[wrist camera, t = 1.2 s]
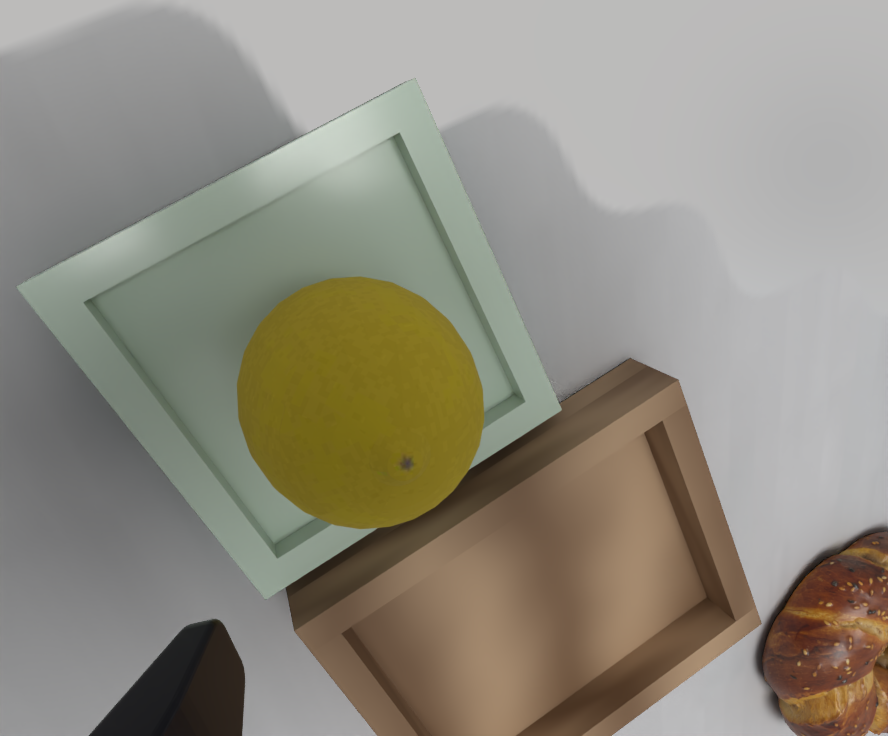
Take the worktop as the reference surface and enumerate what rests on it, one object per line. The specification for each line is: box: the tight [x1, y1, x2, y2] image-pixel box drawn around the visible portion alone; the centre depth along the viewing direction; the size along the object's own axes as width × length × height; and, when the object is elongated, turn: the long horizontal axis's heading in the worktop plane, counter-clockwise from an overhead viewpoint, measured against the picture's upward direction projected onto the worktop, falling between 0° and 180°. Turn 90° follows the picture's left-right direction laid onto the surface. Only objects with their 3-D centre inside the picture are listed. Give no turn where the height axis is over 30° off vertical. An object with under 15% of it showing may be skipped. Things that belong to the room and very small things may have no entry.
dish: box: [16, 78, 562, 600], centre depth 19 cm, size 11×11×1 cm
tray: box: [286, 358, 762, 736], centre depth 23 cm, size 14×12×3 cm
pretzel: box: [762, 532, 888, 736], centre depth 31 cm, size 12×11×4 cm
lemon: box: [237, 276, 484, 529], centre depth 15 cm, size 6×6×8 cm
